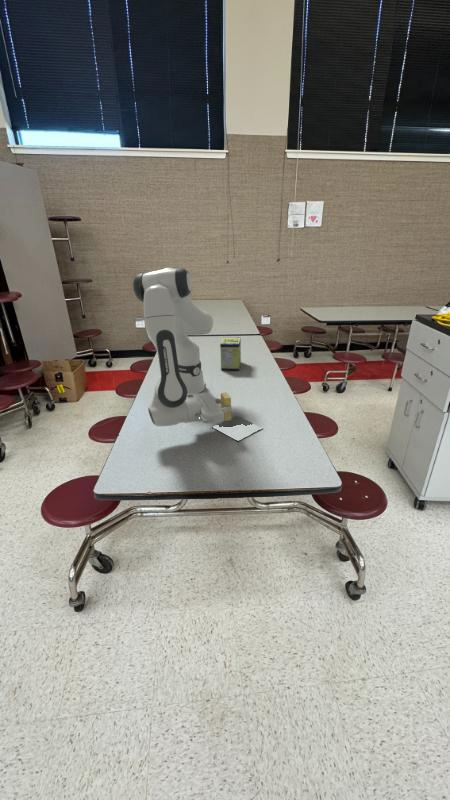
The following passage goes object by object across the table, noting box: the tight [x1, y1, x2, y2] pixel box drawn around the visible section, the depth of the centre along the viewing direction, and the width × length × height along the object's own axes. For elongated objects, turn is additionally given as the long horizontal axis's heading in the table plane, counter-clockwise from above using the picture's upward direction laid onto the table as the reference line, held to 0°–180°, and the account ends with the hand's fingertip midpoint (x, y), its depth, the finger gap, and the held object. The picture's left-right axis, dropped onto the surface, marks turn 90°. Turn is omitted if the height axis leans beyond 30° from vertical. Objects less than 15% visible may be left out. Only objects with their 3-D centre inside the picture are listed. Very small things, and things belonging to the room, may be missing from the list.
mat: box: [216, 414, 254, 427], centre depth 143 cm, size 15×14×1 cm
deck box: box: [220, 391, 232, 421], centre depth 138 cm, size 2×5×10 cm, turn 18°
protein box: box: [219, 336, 242, 372], centre depth 205 cm, size 10×16×16 cm
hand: (228, 404), depth 138 cm, fingers closed on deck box, 5 cm apart
